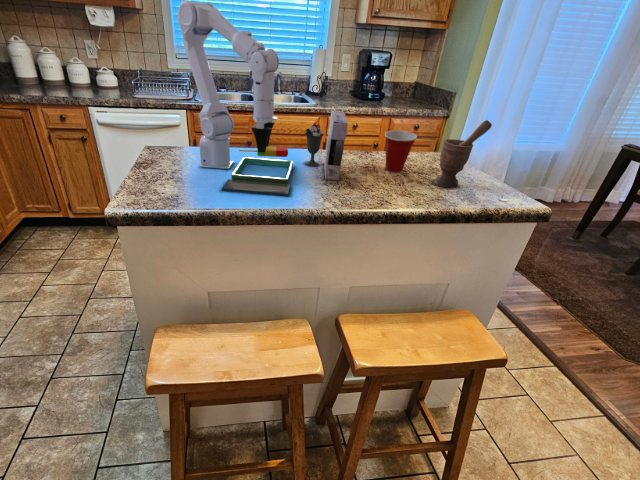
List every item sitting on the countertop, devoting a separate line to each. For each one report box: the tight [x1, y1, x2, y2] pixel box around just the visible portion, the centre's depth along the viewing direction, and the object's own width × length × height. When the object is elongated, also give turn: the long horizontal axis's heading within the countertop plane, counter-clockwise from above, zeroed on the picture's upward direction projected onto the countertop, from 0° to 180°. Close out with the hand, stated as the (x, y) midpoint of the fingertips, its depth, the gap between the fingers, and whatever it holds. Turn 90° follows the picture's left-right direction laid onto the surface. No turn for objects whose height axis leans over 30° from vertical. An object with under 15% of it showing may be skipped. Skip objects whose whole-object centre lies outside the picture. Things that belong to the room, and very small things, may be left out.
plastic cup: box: [384, 129, 418, 173], centre depth 132 cm, size 11×11×12 cm
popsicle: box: [238, 145, 289, 158], centre depth 117 cm, size 6×15×2 cm, turn 93°
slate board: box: [221, 179, 291, 197], centre depth 112 cm, size 19×8×1 cm, turn 85°
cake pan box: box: [323, 109, 349, 181], centre depth 124 cm, size 19×5×18 cm, turn 176°
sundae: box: [304, 117, 325, 167], centre depth 131 cm, size 7×7×15 cm
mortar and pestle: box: [433, 119, 493, 189], centre depth 119 cm, size 12×9×20 cm
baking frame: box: [231, 156, 294, 184], centre depth 124 cm, size 17×20×2 cm
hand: (263, 149), depth 116 cm, fingers closed on popsicle, 6 cm apart
